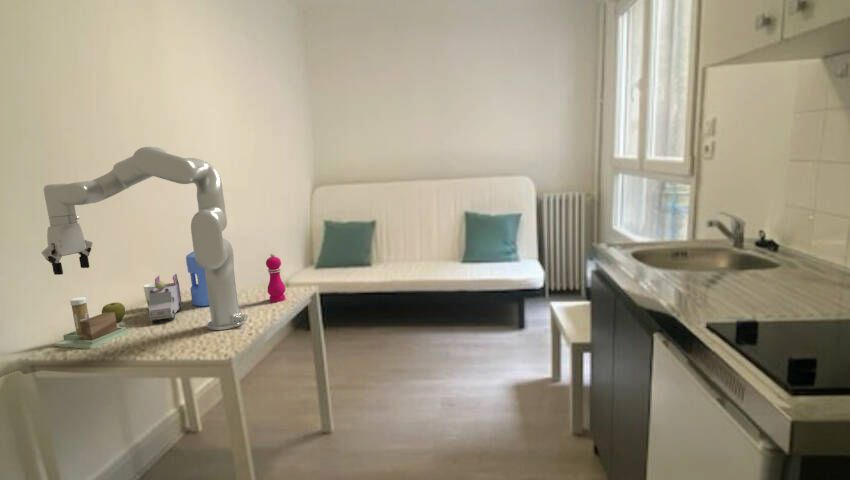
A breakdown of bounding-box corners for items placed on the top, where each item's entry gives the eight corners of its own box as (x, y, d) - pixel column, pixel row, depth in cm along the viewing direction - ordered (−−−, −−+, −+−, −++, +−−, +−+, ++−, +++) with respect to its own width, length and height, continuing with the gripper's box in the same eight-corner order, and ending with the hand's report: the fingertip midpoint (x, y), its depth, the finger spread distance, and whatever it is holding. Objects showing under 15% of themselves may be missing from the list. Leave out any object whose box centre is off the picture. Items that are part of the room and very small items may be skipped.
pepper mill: (273, 297, 213) (268, 251, 210) (289, 297, 212) (284, 251, 209) (265, 302, 206) (260, 255, 203) (282, 302, 205) (276, 254, 202)
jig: (128, 332, 178) (127, 325, 178) (91, 348, 164) (89, 340, 163) (94, 331, 182) (93, 324, 182) (54, 346, 168) (53, 339, 167)
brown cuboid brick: (117, 331, 176) (114, 312, 175) (92, 342, 166) (89, 322, 165) (108, 331, 177) (105, 312, 176) (83, 341, 167) (79, 321, 166)
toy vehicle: (148, 325, 185) (141, 286, 183) (160, 311, 204) (155, 275, 201) (175, 322, 187) (169, 283, 185) (185, 308, 206) (180, 272, 204)
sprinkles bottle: (90, 336, 172) (84, 298, 170) (75, 339, 171) (68, 301, 169) (93, 332, 177) (87, 295, 174) (78, 335, 175) (71, 297, 173)
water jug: (235, 295, 222) (227, 232, 217) (226, 305, 207) (218, 238, 202) (198, 298, 220) (190, 235, 215) (187, 308, 205) (177, 241, 200)
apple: (100, 326, 188) (97, 308, 187) (107, 320, 195) (104, 302, 194) (123, 323, 190) (120, 305, 188) (129, 317, 197) (126, 299, 196)
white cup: (169, 307, 208) (166, 284, 206) (148, 311, 203) (144, 288, 202) (166, 303, 214) (163, 281, 213) (146, 307, 210) (142, 284, 208)
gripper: (78, 217, 176) (86, 265, 179) (28, 225, 160) (38, 277, 163) (95, 217, 174) (103, 265, 177) (46, 224, 158) (56, 277, 161)
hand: (72, 270), depth 170 cm, fingers open, 9 cm apart
